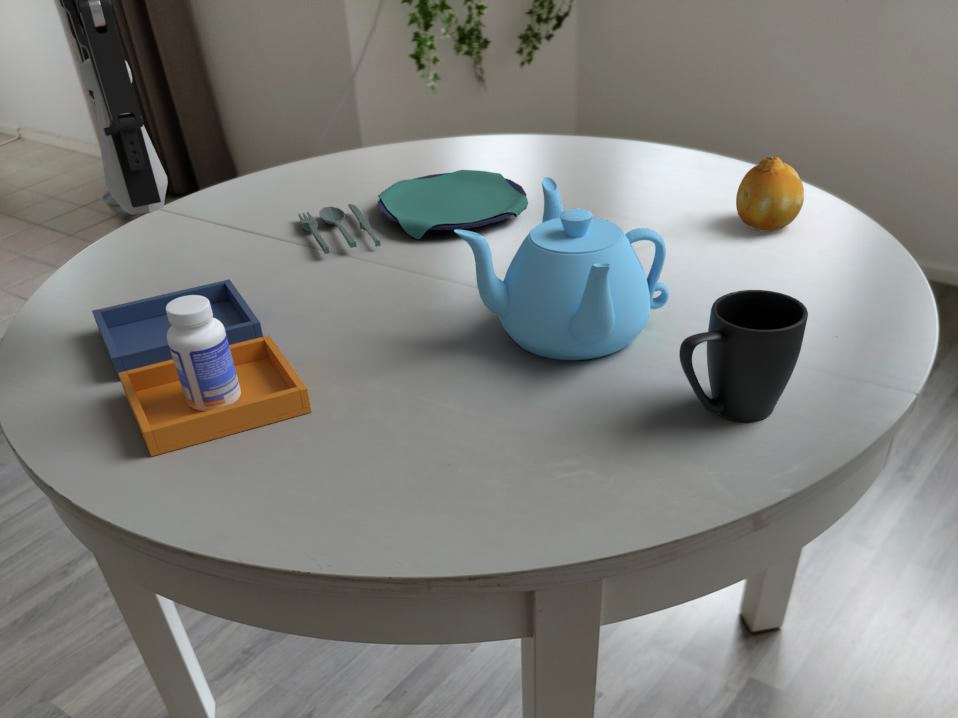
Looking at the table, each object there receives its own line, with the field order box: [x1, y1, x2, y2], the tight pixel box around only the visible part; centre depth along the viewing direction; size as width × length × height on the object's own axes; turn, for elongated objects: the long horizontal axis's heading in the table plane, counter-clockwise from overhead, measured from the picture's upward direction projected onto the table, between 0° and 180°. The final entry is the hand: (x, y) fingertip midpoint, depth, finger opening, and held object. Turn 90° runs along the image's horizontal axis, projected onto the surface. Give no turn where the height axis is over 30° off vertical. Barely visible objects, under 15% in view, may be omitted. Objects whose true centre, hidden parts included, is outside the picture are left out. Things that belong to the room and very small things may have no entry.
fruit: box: [735, 156, 805, 232], centre depth 116 cm, size 8×8×8 cm
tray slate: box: [91, 278, 264, 382], centre depth 102 cm, size 16×13×3 cm
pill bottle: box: [166, 295, 241, 411], centre depth 89 cm, size 5×5×10 cm
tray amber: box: [118, 334, 312, 457], centre depth 92 cm, size 16×13×3 cm
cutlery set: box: [297, 169, 529, 255], centre depth 124 cm, size 20×30×2 cm, turn 110°
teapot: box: [453, 176, 670, 361], centre depth 96 cm, size 17×19×12 cm
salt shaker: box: [80, 59, 169, 216], centre depth 89 cm, size 6×6×13 cm
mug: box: [678, 289, 809, 423], centre depth 84 cm, size 8×12×10 cm
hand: (139, 193), depth 93 cm, fingers closed on salt shaker, 6 cm apart
